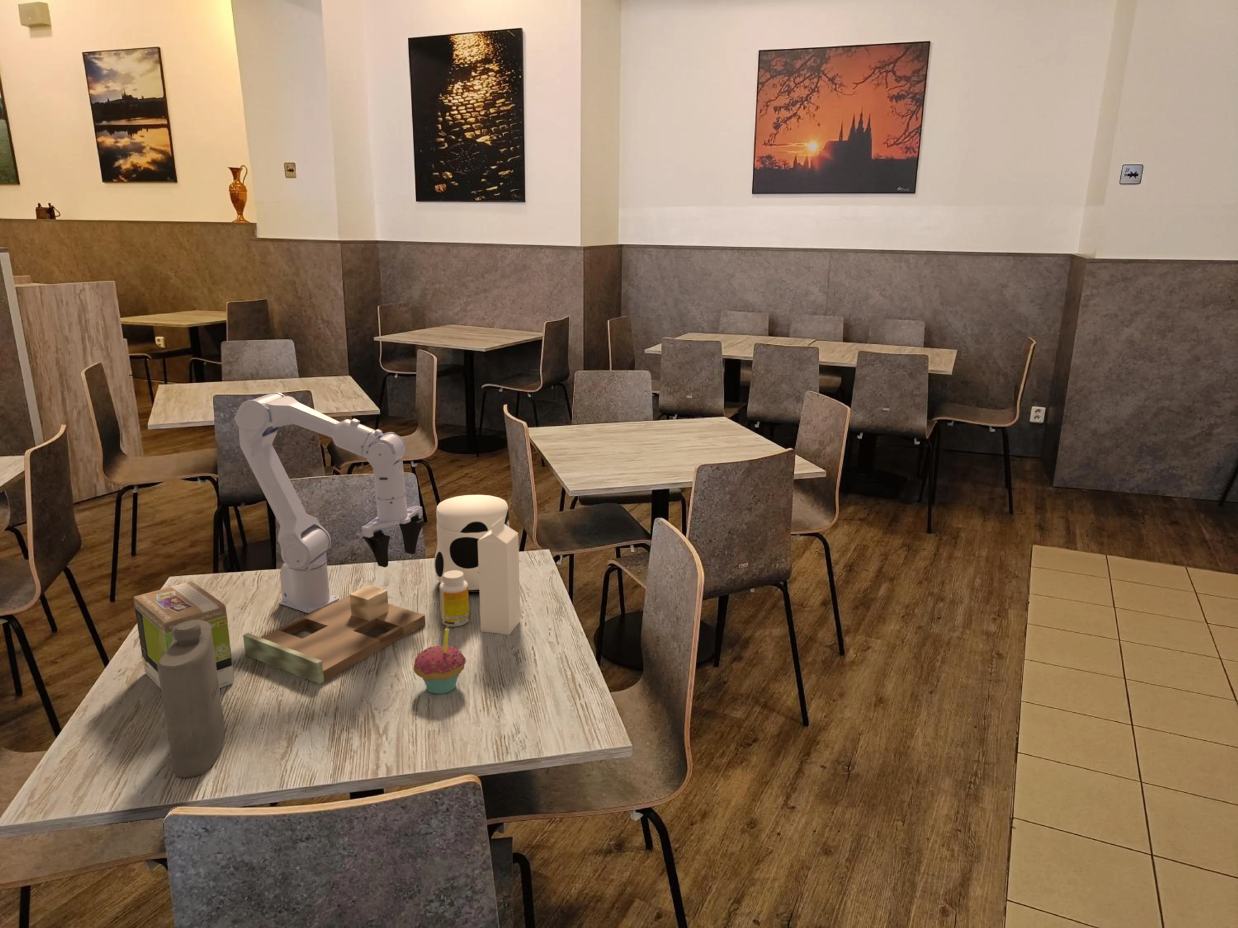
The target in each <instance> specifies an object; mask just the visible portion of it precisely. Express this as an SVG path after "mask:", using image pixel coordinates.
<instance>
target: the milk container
mask: <svg viewBox="0 0 1238 928" xmlns="http://www.w3.org/2000/svg"><path fill="white" fill-rule="evenodd" d="M435 513H436V514H435V519H436V539H437V546H436V550H435V551H436V552H435V555H434V563H433V564H434V566H433V567H434V572H435V576H436V579H437V581H438V582H439V584H441V583H442V582H443V574H444V573H445V572H448V571H452V570H458V571H461V572H463V574H464V580H465V581H466V582H467V583H468V593H477V592H478V593H480V592H479V565H478V540H479V539H480V538H482V537H483V536H484V535H485V534H486V533H487V532H489V531H490V530H491V528H492V525H494V524H495V523H496V522H497V521H498V520H499V519H501V518H502V517H504V524H505V525H507V526H508V527H510V521H509V518H510V512H509V506H508V503H507V501H506V500H505V499H503V498H501V497H497V496H493V495H489V494H487V495H486V494H467V495H466V494H464V495H458V496H454V497H449V498H446V499H445V500H443V501H441V502H439V503H438V505H437V506H436V512H435Z"/></svg>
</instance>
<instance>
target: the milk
mask: <svg viewBox="0 0 1238 928" xmlns="http://www.w3.org/2000/svg"><path fill="white" fill-rule="evenodd" d="M519 550H520V549H519V533H518V532H517V531H516V530H514V529H513V528H512V527H510V526H509V527H508V526H507V525H505V524H504V517H502V518H501V519H499V520H498V521H497V522H496V523H495V524H494V525H492V528H491V530H490V531H489V532H487V533H486V534H485V535H484V536H483V537H482V538H480V539H479V540H478V565H479V592H478V593H479V613H480V631H481V632H486V633H493V634H498V635H499V634H500V635H506V636H509V635H511V634H512V632H513V631H514V629H515V628H516V627H517V626H518V625H519V623H520V622H521V601H520V600H521V599H520V593H521V592H520V560H519V559H520V557H519V556H520V554H519V553H520V552H519Z"/></svg>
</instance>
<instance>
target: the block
mask: <svg viewBox="0 0 1238 928" xmlns="http://www.w3.org/2000/svg"><path fill="white" fill-rule="evenodd" d="M388 594H389V593H388V590H387V589H384V588H380V587H376V586H373V585H370V584H368V585H366V586H364V587H362V588H360V589H357V590H355V591H353V592H351V593H349V596H350V605H351V615H353V616H356V617H359V618H362V619H365V620H368V621H371V620H373V619H375V618H377V617H379V616H381V615H383V614H385V613H386V612H388V611H389V608H388V604H389V600H388V599H389V597H388Z"/></svg>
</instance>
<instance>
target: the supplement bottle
mask: <svg viewBox="0 0 1238 928" xmlns="http://www.w3.org/2000/svg"><path fill="white" fill-rule="evenodd" d="M438 587H439V604H440V606H439V608H440V619H441V623H442V624H443V625H445V626H446V627H447V626H448V625H449V626H448V627H451V628H452V627H453V628H455V627H461V626H464V625H466V624H467V623H469V621H470V599H469V597H470V596H469V592H468V583H467V582H466V581H465V580H464V574H463V572H461V571H458V570H452V571H448V572H445V573H444V574H443V582H442V583H439V586H438Z"/></svg>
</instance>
